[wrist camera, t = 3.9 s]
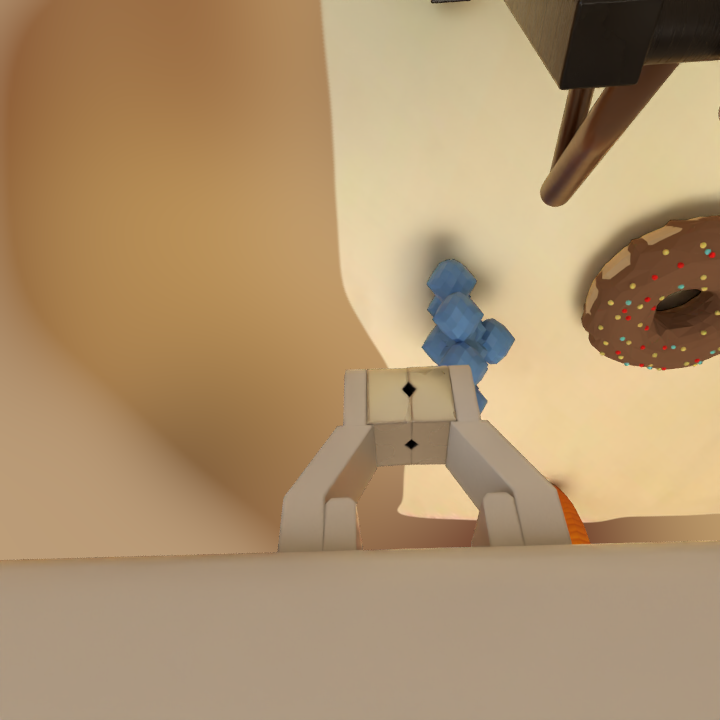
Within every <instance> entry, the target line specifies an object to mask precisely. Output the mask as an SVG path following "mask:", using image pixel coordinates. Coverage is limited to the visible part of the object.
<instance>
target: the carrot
mask: <svg viewBox="0 0 720 720" xmlns="http://www.w3.org/2000/svg"><path fill="white" fill-rule="evenodd" d="M553 486H554V487H555V488H556V489H557V492H558V496H559V499H560V503H561V506H562V510H563V514H564V517H565V521H566V524H567V528H568V531H569V535H570V538H571V542H572V544H590V541H589V538H588V536H587V533H586V530H585V527H584V525H583V523H582V521H581V519H580V517H579V515H578V513H577V511H576V509H575V508H574V506H573V504H572V503H571V501H570V500H569V499H568V497H567V496H566V495H565V494H564V493H563V492H562V491H561V490H560V489H559V488H558V487H557V486H555V485H553Z"/></svg>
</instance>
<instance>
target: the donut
mask: <svg viewBox="0 0 720 720" xmlns="http://www.w3.org/2000/svg"><path fill="white" fill-rule="evenodd" d="M690 289H698V290H700V291H702V292H701V293H700V294H699V295H698V296H696V297H695V298H693V299H692V300H690V301H688V302H687V303H685V304H683V305H681V306H679V307H675V308H672V309H668V310H664V311H656V308H657V305H658V304H659V303H660V302H661V301H662V300H663V299H665V298H666V297H667V296H669V295H670V294H672V293H675V292H678V291H681V290H690ZM581 320H582V324H583V327H584V328H585V329H586V331H588V332H589V341H590V343H591V345H592V346H594V347H595V348H596V349H597V350H598V351H599V352H600V354H601V355H605V356H606V357H608V358H611V359H613V360H616V361H618V362H621V363H624V365H625V366H628V365H632V366H640V367H647V368H648V369H652V368H657V370H661V369H662V370H665V369H675V368H683V367H688V366H696V365H697V364H702V362H703V361H704V360H706V359H709V358H711V357H713V356H716V355H718V354H720V216H709V217H697V218H692V219H688V220H670V221H669V222H668V223H667V224H666V225H665V226H664V227H662V228H659V229H657V230H655V231H652V232H650V233H648V234H645V235H644V236H642V237H641V238H638V239H632V240H631V242H630V244H629V245H628V246H626V247H625V248H623V249H622V250H621V251H620V252H619V253H617V254H616V255H615V256H614V257H613V258H612V259H611V260H610V261H609V262H608V263H606V264H605V265H604V267H603V268H602V269H601V271H600V272H599V274H598V275H597V276H596V278H595V279H594V281H593V282H592V284H591V287H590V289H589V292H588V295H587V297H586V303H585V304H584V313H583V316H582V318H581Z"/></svg>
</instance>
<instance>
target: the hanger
mask: <svg viewBox="0 0 720 720" xmlns="http://www.w3.org/2000/svg"><path fill="white" fill-rule="evenodd" d="M678 65H679V63H668V64H653V65H643V68H642V71H641V74H640V77H639V80H638V83H637V84H636V85H631V86H615V87H605V89H604V90H603V92H602V93H601V95H600V96H599V98H598V100H597V101H596V103H595V104H594V106H593V107H592V109H591V110H590V112H589V108H590V104H591V101H592V97H593V93H594V89H595V88H584V89H569V92H568V97H567V101H566V105H565V110H564V114H563V118H562V123H561V127H560V131H559V135H558V140H557V144H556V148H555V153H554V157H553V161H552V166H551V170H550V174H549V175H548V177H547V178H546V180H545V181H544V183H543V184H542V187H541V190H540V195H541V198H542V200H543V202H544V203H545V204H547V205H549V206H552V207H558V206H561V205H563V204H565V203H566V202H567V201H568V200H569V199H570V198H571V197H572V195H573V194H574V193H575V192H576V190H577V189H578V188H579V187H580V185H581V184H582V183H583V182H584V181H585V179H586V178H587V177H588V176H589V174H590V173H591V172H592V171H593V169H594V168H595V167H596V166H597V165H598V163H599V162H600V161H601V160H602V158H603V157H604V156H605V155H606V153H607V152H608V151H609V150H610V148H611V147H612V146H613V145H614V144H615V142H616V141H617V140H618V139H619V137H620V136H621V135H622V134H623V132H624V131H625V130H626V129H627V128H628V126H629V125H630V124H631V123H632V121H633V120H634V119H635V118H636V116H637V115H638V114H639V113H640V112H641V110H642V109H643V108H644V107H645V105H646V104H647V103H648V102H649V100H650V99H651V98H652V97H653V95H654V94H655V93H656V92H657V91H658V89H659V88H660V87H661V86H662V84H663V83H664V82H665V81H666V79H667V78H668V77H669V76H670V75H671V73H672V72H673V71H674V70H675V68H676V67H677V66H678ZM588 112H589V113H588ZM718 116H719V120H720V107H719V112H718Z"/></svg>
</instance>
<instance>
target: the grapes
mask: <svg viewBox="0 0 720 720" xmlns="http://www.w3.org/2000/svg"><path fill="white" fill-rule="evenodd" d="M476 282H477V280H476V279H475V278H474V277H473V275H472V274H471V273H470V272H469V270H468V269H467V268H466V267H465V266H464V265H462V264H461V263H460V262H458V261H456V260H454V259H452V260H450V259H449V260H446V261H443V262H441V263H439V265H438V266H437V267H436V269H435V270H434V271H433V273H432V274H431V276H430V278H429V280H428V282H427V286H428V287H429V288H430V289H431V290H432V292H433V293H434V294H435V297H434V298H433V300H432V301H431V303H430V305H429V307H428V309H427V310H428V311H429V312H430V314H431V315H432V316H433V319H432V320H433V321H434V322H435V323H436V326H435V327H434V329H433V330H432V331H431V332H430V334H429V335H428V337H427V339H426V340H425V342H424V344H423V346H422V348H423V349H424V351H425V352H426V353H427V354H428V356H429V357H430V358H431V359H432V360H433V361H434V362H435V363H436V364H438V366H445V365H447V367H448V366H453V365H469V366H470V368H471V371H472V376H473V381H474V386H475V392H476V397H477V402H478V407H479V412H480V414H481V412H482V410H483V409H484V407H485V405H486V403H487V400H486V399H485V397H484V396H483V395H482V394H481V393H480V391H479V390H478V389H479V388H478V387H477V384H478V383H479V382H480V381H481V380H482V378H483V376H484V375H485V373H486V371H487V369H488V368H487V366H488V364H487V363H489V364H497V363H498V362H499V361H501V360H502V359H503V358H504V357H505V356H506V355H507V353H508V351H509V349H510V348H511V346H512V344H513V342H514V340H515V338H514V337H513V336H512V335H511V333H510V332H509V331H508V330H507V329H506V327H505V326H504V325H502V324H501V323H499V322H498V321H496V320H495V319H493V318H491V319H486V320H485V321H483V322H482V321H481V319H482V317H483V315H484V314H483V313H482V312H481V310H480V309H479V308H478V307H477V305H476V304H475V303H474V302H473V301H472V299H470V297H471V296H470V295H469V294H470V293H471V291H472V289H473V288H474V286H475V284H476Z"/></svg>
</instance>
